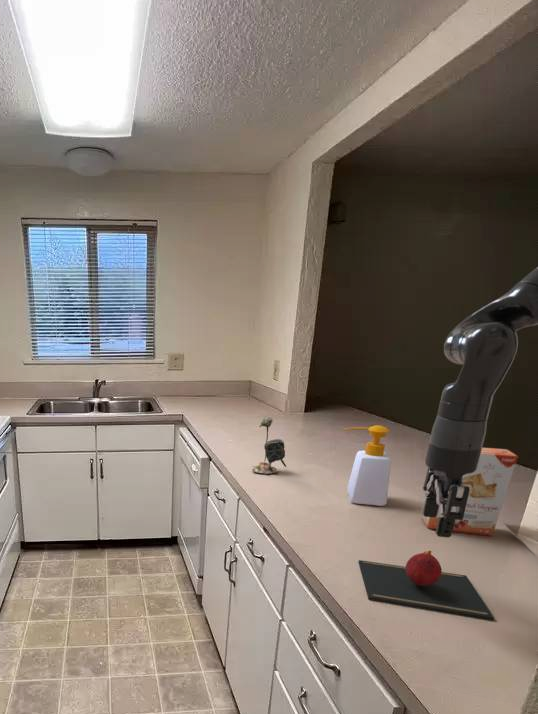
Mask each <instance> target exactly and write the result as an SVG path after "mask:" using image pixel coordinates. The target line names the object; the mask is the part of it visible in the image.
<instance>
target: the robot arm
mask: <svg viewBox="0 0 538 714" xmlns="http://www.w3.org/2000/svg"><path fill="white" fill-rule="evenodd" d="M537 325H538V265H537V266H536V267H534V268H533V270H531V271H529V273H528V274H527V275H525V276H524V277H523V278H522V279H520V280H519V281H518V282H517V283H516V284H514V286H512V287H511V288H510V289H509V290H507V292H506V293H504V294H502V295H501V296H499V297H497V298H495V299H494V300H492V301H490V302H489V303H487V304H486V305H485V306H483V307H481V308H480V309H478V310H476V311H475V312H473V313H472V314H470V315H469V316H468V317H465V318H464V319H463V320H461V321H460V322H459V323H458V324H456V326H455V327H454V328H453V329H451V331H450V332H449V334H448V335H447V337H446V338H445V341H444V343H443V353H444V354H443V355H444V356H445V357H446V359H447V360H448V361H449V362H451V363H454V364H456V365H459V366H461V369H460V372H459V374H458V377H457V379H456V380H455V381H451V382H449V383H446V385H445V386H444V387H443V389H442V392H441V394H440V395H441V396H440V400H439V404H438V408H437V415H436V418H435V421H434V423H433V426H432V429H431V432H430V438H429V442H428V447H427V450H426V451H427V452H426V456H425V462H424V463H425V465H426V466H427V469H426V470H427V471H426V475H425V478H424V483H423V486H422V489H423V490H422V491H425V493H424V497H426V498H425V501H424V505H423V511H422V516H423V515H424V516H425V517H436V516H437V513H438V509H439V506H440V517H439V521H438V525H437V529H435V534H436V536H437V537H439V538H451V537H452V535H453V532H454V531H453V527H454V523H455V520H463V517H464V512H465V508H466V504H467V499H468V495H469V491H470V489H469V487H468V486H463V482H462V476H463V475H465V474H470V473H473V472H475V471H476V469H477V465H478V462H479V458H480V454H481V450H482V448H483V446H484V442H485V439H486V434H487V427H488V425H487V424H488V419H489V415H490V411H491V407H492V403H493V399H494V395H495V393H496V392H497V391H498V389H499V387H500V386H501V384H502V383H503V381H504V378H505V377H506V375H507V374H508V372H509V370H510V368H511V366H512V364H513V362H514V360H515V357H516V355H517V351H518V345H519V339H518V338H519V337H518V333H517V331H520V330H522V329H525V328H531V327H534V326H537ZM445 499H447V500H445ZM445 506H446V508H445ZM452 507H453V512H451V508H452Z"/></svg>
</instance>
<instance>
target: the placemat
mask: <svg viewBox="0 0 538 714" xmlns="http://www.w3.org/2000/svg"><path fill="white" fill-rule="evenodd" d="M358 565H359V569H360V573H361V577H362V581H363V584H364V588H365V591H366V596H367V599H368V600H370V601H376V602H380V603H381V602H382V603H388V604H393V605H399V606H405V607H411V608H417V609H424V610H429V611H436V612H441V613H447V614H451V615H459V616H465V617H470V618H471V617H472V618H476V619H482V620H489V621H494V620H495V616H494V615H493V614H492V612H491V611H490V609H489V607H488V606H487V605H486V603H485V601H484V600H483V599H482V597H481V595H480V594H479V592H478V591H477V589H476V588H475V586H474V585H473V584H472V582H471V580H470V579H469V578H468V576H467V575H466V574H458V573H451V572H445V571H442V573H441V576H440V578H439V579H438V581H437V582H435V583H434V584H431V585H428V586H418V585H416V584H415V583H414V582H412V581H411V579H410V578H409V577H408V576H407V573H406V566H403V565H397V564H391V563H381V562H376V561H368V560H361V559H358Z"/></svg>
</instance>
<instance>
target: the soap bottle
mask: <svg viewBox="0 0 538 714" xmlns="http://www.w3.org/2000/svg"><path fill="white" fill-rule="evenodd" d="M347 430H367V431H368V432H369V436H370V437H373V439H372V441H369V442H366V446H365V450H363V449H362V450H358V451H357V452H356V454H355V458H354V461H353V465H352V470H351V473H350V477H349V480H348V485H347V487H346V492H347V495H348V498H349V501H350V502H351V503H353V504H360V505H368V506H379V507H384V506H386V504H387V503H388V497H389V486H390V475H391V466H392V465H391V464H392V461H391V458H390V457H389V456H388V454H387V453H386V452H385V447H386V445H385V444H384V443H381V442H380V441H381V438H385V437H386V435H387V433H390V429H388V428H387V427H385V426H383V425H379V424H378V425H372V426H370V427H360V426H359V427H355V426H354V427H345V428H342V431H347Z"/></svg>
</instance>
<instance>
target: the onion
mask: <svg viewBox="0 0 538 714" xmlns="http://www.w3.org/2000/svg"><path fill="white" fill-rule="evenodd" d="M405 567H406V573H407V576H408V577H409V578H410V579H411V581H412V582H414V583H415V584H416V585H418V586H428V585H431V584H434V583H435V582H437V581H438V579H439V578H440V576H441V573H442V572H443V569H442V565H441V564H440V561H439V560H438V559H437V558H436V557H435V556H434V555H432V551H431V549H425V550H424V551H423V552H420V553H416V554H414V555H412V556H411V557H410V558H409V559H408V560H407V561H406V564H405Z"/></svg>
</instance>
